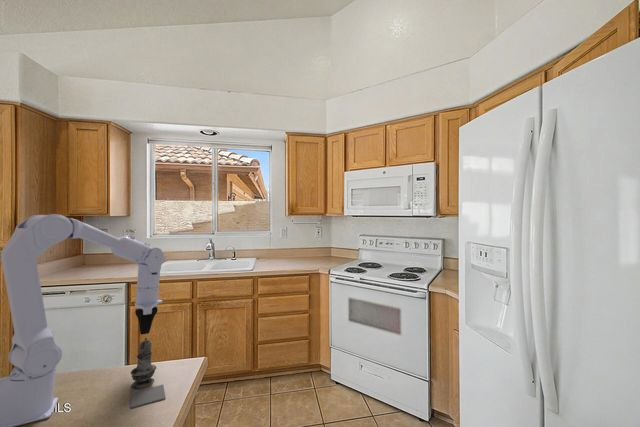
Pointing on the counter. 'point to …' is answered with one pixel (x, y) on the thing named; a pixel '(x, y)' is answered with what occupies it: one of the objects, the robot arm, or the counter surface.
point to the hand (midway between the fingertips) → (144, 333)
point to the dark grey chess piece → (143, 367)
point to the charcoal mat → (147, 396)
